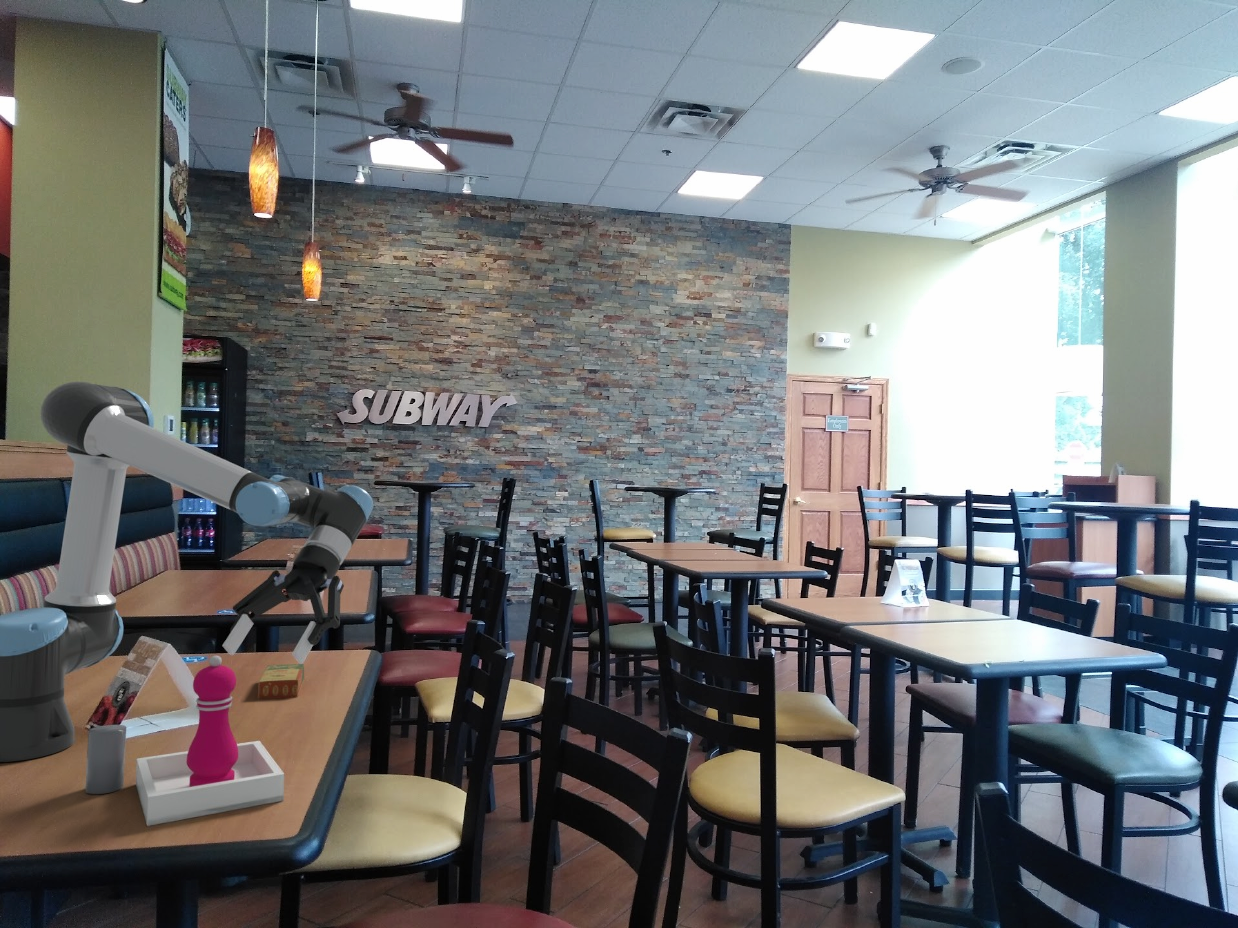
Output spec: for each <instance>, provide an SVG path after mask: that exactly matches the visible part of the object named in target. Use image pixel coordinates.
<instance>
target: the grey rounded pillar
mask: <svg viewBox="0 0 1238 928" xmlns="http://www.w3.org/2000/svg"><path fill="white" fill-rule="evenodd" d="M87 735H88V738H87V751H86V752H87V754H86V770H85V772H86V774H85V785H84V786H85V787H84V788H85V789H84V792H85V793H87V794H90V795H91V794H92V795H102V794H108V793H114V792H116V791H117V792H118V791H119V790H121V789H123V787H124V781H125V780H124V779H125V778H124V777H125V776H124V775H125V758H126V744H127V743H126V742H127V741H126V739H127V726H126V725H123V724H106V725H99V726H95V727H92V728H90V729H89V730H88V734H87Z"/></svg>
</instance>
